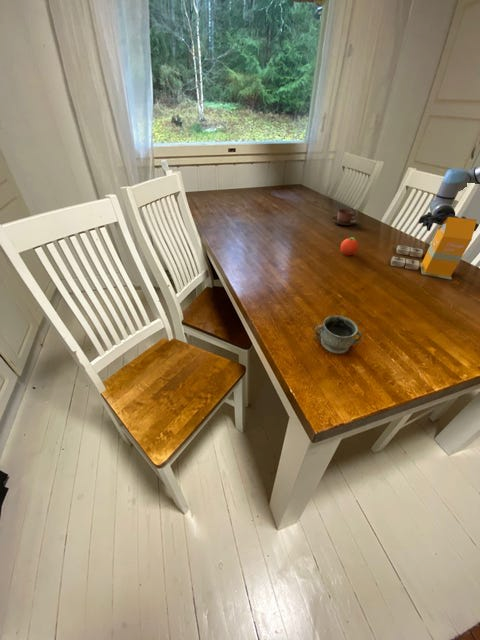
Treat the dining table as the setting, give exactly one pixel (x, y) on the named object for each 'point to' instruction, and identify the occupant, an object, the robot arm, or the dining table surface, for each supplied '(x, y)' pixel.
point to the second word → (412, 266)
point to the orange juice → (448, 246)
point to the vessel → (338, 334)
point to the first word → (409, 251)
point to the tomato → (349, 246)
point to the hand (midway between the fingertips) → (450, 230)
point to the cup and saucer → (345, 217)
